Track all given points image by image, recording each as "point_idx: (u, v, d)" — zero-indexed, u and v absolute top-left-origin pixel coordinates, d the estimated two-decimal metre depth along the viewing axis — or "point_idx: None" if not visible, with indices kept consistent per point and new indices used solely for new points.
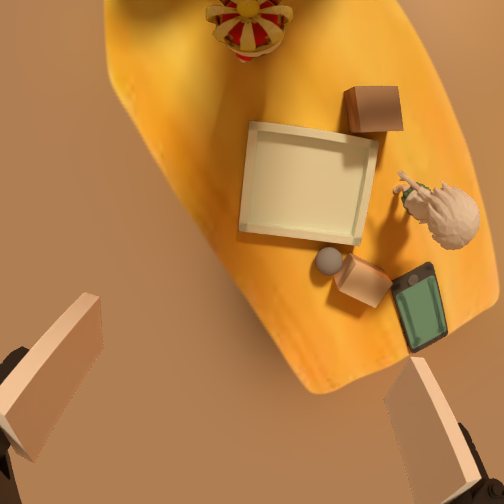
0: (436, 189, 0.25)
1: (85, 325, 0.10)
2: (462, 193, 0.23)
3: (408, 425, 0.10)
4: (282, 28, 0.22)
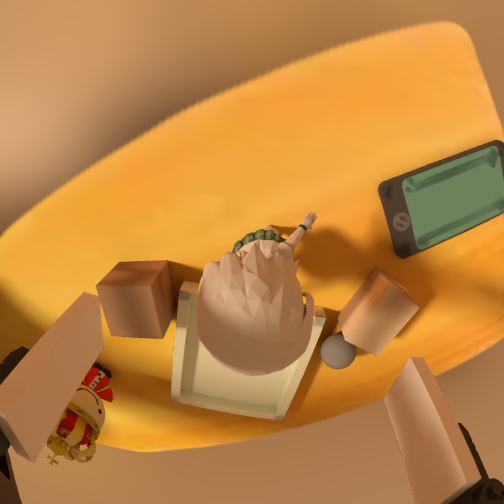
0: None
1: (85, 325, 0.10)
2: None
3: (408, 425, 0.10)
4: (70, 409, 0.24)
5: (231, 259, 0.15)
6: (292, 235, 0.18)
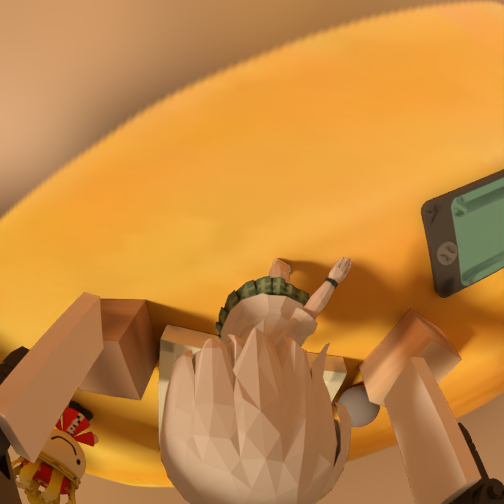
0: None
1: (85, 325, 0.10)
2: None
3: (408, 425, 0.10)
4: (44, 460, 0.17)
5: (215, 362, 0.08)
6: (316, 297, 0.11)
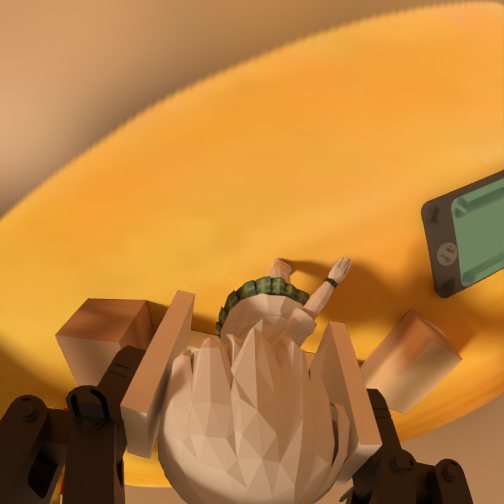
0: None
1: (187, 321, 0.12)
2: None
3: None
4: None
5: (213, 362, 0.08)
6: (315, 297, 0.11)
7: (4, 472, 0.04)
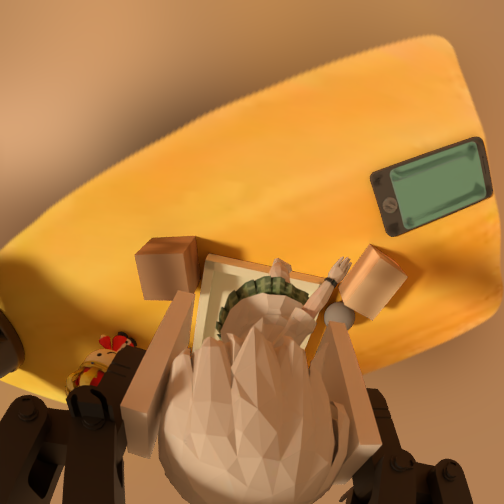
0: None
1: (186, 321, 0.12)
2: None
3: None
4: (100, 369, 0.30)
5: (213, 361, 0.08)
6: (315, 296, 0.11)
7: (4, 472, 0.04)
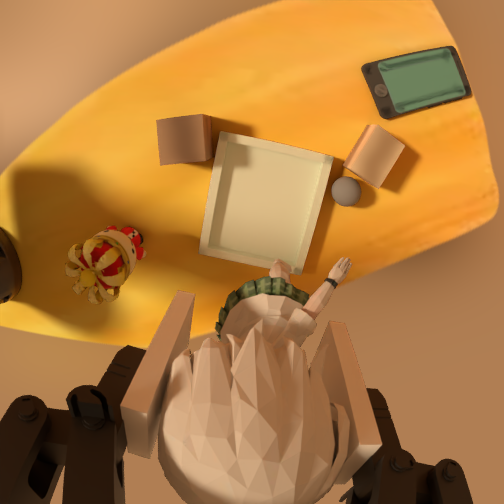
0: None
1: (186, 321, 0.12)
2: None
3: None
4: (106, 240, 0.31)
5: (213, 362, 0.08)
6: (315, 297, 0.11)
7: (4, 472, 0.04)
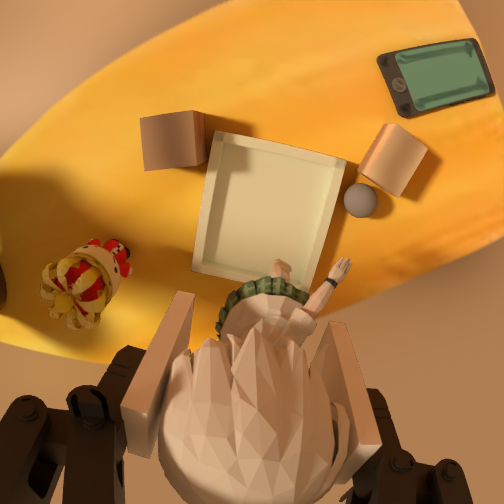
0: None
1: (186, 321, 0.12)
2: None
3: None
4: (84, 258, 0.26)
5: (213, 361, 0.08)
6: (315, 296, 0.11)
7: (4, 472, 0.04)
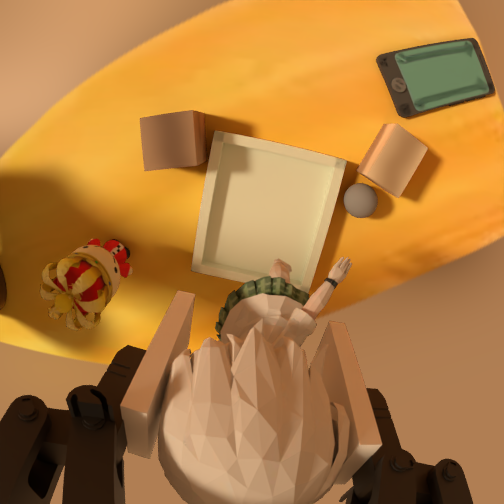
0: None
1: (186, 321, 0.12)
2: None
3: None
4: (84, 258, 0.26)
5: (213, 361, 0.08)
6: (315, 296, 0.11)
7: (4, 472, 0.04)
